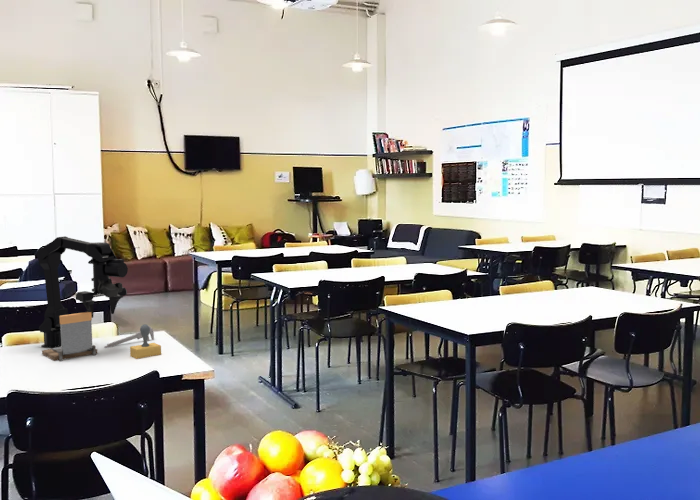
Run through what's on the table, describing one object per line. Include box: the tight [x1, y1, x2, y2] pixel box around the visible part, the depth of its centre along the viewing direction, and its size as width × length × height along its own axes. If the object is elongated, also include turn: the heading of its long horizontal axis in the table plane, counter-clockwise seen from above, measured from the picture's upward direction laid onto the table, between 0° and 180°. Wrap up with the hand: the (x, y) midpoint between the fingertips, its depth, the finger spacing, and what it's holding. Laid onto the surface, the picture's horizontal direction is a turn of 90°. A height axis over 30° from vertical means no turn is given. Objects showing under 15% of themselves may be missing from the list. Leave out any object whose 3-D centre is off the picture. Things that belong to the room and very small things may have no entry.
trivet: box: [41, 344, 98, 362], centre depth 261 cm, size 15×16×4 cm
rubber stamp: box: [129, 324, 162, 360], centre depth 259 cm, size 10×6×12 cm, turn 131°
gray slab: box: [59, 311, 93, 356], centre depth 255 cm, size 2×11×15 cm, turn 133°
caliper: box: [104, 325, 155, 349], centre depth 277 cm, size 20×1×6 cm, turn 131°
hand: (102, 315), depth 264 cm, fingers open, 8 cm apart
